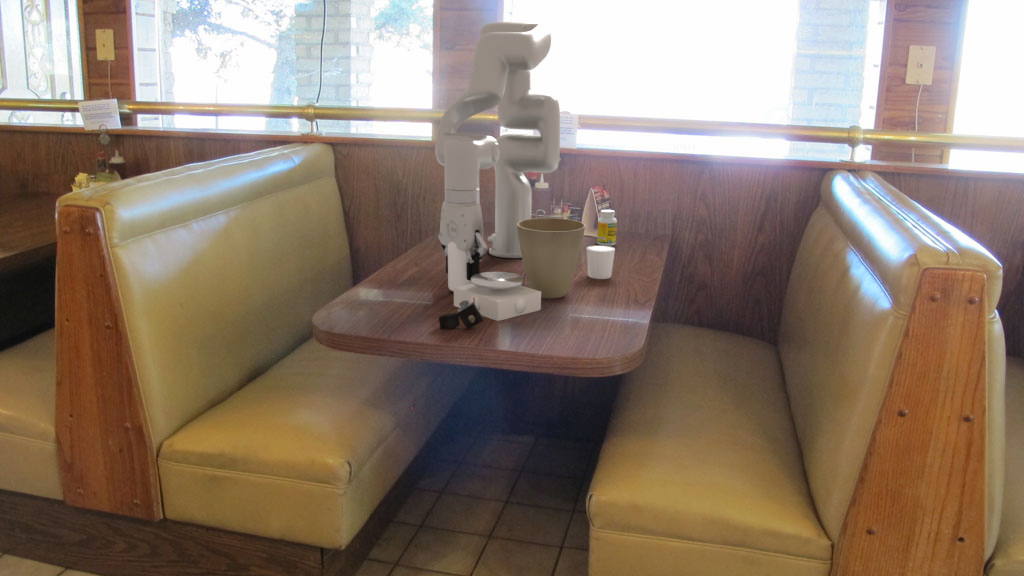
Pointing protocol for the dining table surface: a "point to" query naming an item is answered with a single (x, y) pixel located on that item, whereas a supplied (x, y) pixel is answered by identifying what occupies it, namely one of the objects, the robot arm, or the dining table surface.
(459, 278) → the can
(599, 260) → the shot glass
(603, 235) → the supplement bottle
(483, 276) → the scale pan
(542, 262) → the plant pot
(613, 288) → the dining table surface
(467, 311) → the lighter
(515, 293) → the scale housing
